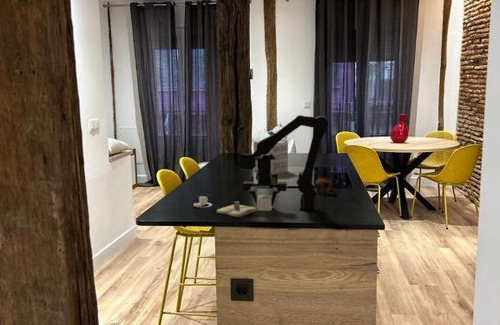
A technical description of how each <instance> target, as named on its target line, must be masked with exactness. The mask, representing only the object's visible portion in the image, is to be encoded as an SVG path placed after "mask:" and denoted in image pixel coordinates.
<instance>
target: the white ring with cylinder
mask: <svg viewBox="0 0 500 325" xmlns="http://www.w3.org/2000/svg"><path fill="white" fill-rule="evenodd" d="M208 199H209V198H208V197H207V196H204V195H201V196H199V197H198V201H199V202H195V203H193V207H194V208H202V207H205V208H210V207H212V206H213V204H212V203H210V202H208V201H209V200H208ZM206 204H207V205H208V206H206Z"/></svg>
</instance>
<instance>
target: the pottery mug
mask: <svg viewBox="0 0 500 325" xmlns="http://www.w3.org/2000/svg"><path fill="white" fill-rule="evenodd" d="M313 183H314V184H315V187H316V189H317V194H322V195H324V194H325V193H329V192H331V191H332V190H333V180H331V179H330V178H327V177H323V176H321V177H317V178H316V180H315V181H314V182H313Z"/></svg>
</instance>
